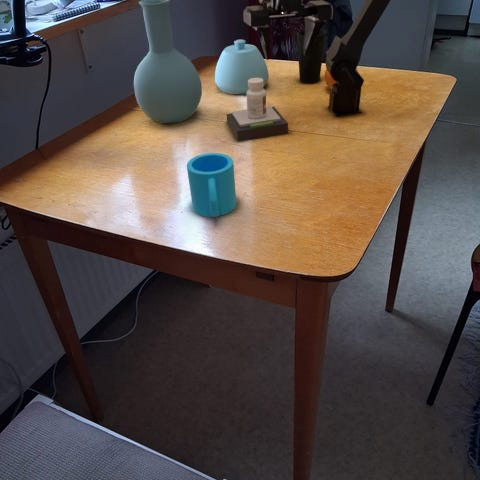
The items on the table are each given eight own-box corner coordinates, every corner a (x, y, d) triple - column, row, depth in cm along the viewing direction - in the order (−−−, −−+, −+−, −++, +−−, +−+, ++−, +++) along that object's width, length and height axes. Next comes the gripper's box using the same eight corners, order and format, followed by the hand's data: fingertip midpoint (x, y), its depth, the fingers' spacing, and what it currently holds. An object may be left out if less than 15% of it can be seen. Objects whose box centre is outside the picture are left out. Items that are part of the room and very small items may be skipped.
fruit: (368, 73, 127) (353, 46, 123) (352, 94, 125) (335, 68, 121) (346, 82, 134) (330, 57, 130) (329, 103, 132) (313, 77, 128)
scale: (274, 116, 118) (274, 103, 116) (288, 133, 111) (288, 120, 109) (226, 123, 117) (225, 111, 115) (237, 141, 109) (236, 128, 107)
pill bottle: (268, 117, 110) (268, 81, 105) (250, 120, 110) (248, 84, 104) (263, 110, 114) (262, 75, 108) (245, 113, 113) (243, 78, 108)
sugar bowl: (236, 75, 143) (233, 31, 135) (278, 82, 136) (278, 36, 128) (205, 91, 135) (200, 44, 127) (248, 99, 128) (246, 51, 120)
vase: (148, 134, 115) (125, 12, 98) (133, 111, 126) (110, -1, 109) (213, 120, 119) (201, 1, 102) (193, 99, 130) (179, -11, 113)
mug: (192, 195, 92) (186, 155, 87) (234, 192, 92) (231, 151, 87) (192, 230, 83) (186, 187, 78) (239, 225, 84) (236, 182, 78)
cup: (322, 85, 133) (324, 36, 124) (294, 84, 134) (295, 36, 126) (324, 75, 138) (326, 28, 130) (297, 75, 139) (298, 28, 131)
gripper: (315, -35, 106) (309, 44, 117) (235, -30, 102) (236, 52, 113) (338, -28, 98) (329, 56, 109) (251, -21, 94) (251, 65, 105)
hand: (286, 57), depth 109 cm, fingers open, 9 cm apart
